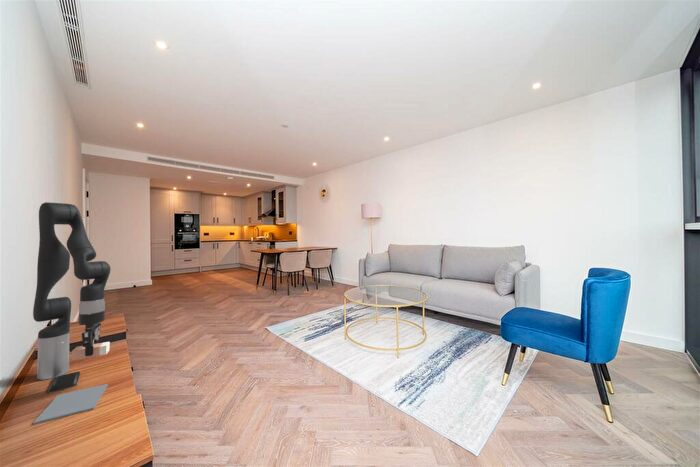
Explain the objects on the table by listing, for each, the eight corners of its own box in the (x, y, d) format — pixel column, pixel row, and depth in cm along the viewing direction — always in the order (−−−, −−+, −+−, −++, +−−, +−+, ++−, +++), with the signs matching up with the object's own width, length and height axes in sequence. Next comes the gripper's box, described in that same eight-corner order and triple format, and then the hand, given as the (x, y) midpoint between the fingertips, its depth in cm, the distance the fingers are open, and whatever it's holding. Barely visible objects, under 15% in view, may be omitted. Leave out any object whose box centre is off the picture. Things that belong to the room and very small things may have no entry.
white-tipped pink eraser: (71, 360, 101) (71, 351, 101) (76, 355, 106) (76, 346, 106) (106, 354, 107) (106, 345, 107) (109, 349, 111) (109, 341, 111)
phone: (80, 370, 116) (76, 384, 105) (80, 373, 116) (76, 386, 105) (53, 377, 111) (46, 391, 100) (53, 380, 111) (46, 394, 100)
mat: (58, 396, 98) (58, 394, 98) (107, 385, 105) (107, 383, 105) (33, 424, 83) (33, 422, 83) (93, 409, 90) (93, 407, 90)
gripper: (85, 308, 111) (84, 349, 110) (72, 316, 98) (71, 362, 98) (109, 305, 115) (108, 345, 114) (99, 313, 102) (98, 357, 102)
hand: (91, 352), depth 106 cm, fingers closed on white-tipped pink eraser, 5 cm apart
